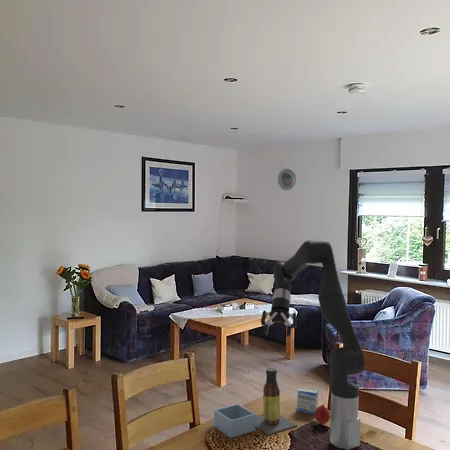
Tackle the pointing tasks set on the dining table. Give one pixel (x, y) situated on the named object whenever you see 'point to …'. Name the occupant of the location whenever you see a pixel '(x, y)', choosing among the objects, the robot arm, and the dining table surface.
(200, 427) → the dining table surface
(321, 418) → the onion
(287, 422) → the mat
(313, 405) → the medicine box
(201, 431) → the dining table surface
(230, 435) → the tub
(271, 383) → the sauce bottle
